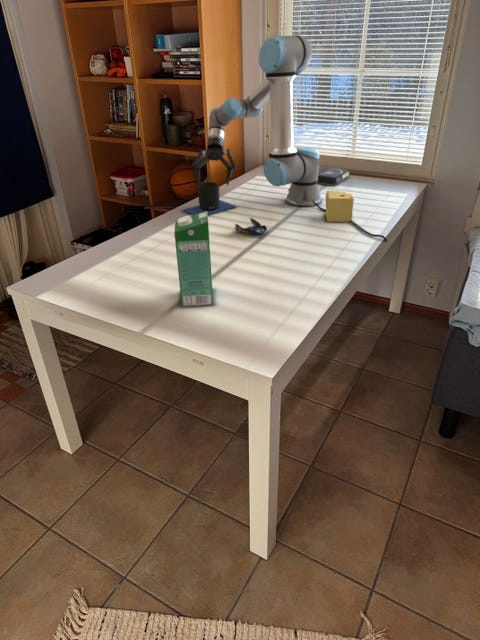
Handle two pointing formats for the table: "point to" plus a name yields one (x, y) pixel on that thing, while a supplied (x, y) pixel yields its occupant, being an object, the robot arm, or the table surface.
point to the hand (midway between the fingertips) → (212, 183)
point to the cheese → (339, 206)
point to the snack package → (252, 228)
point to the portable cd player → (331, 175)
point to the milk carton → (194, 259)
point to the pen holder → (208, 196)
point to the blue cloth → (222, 207)
